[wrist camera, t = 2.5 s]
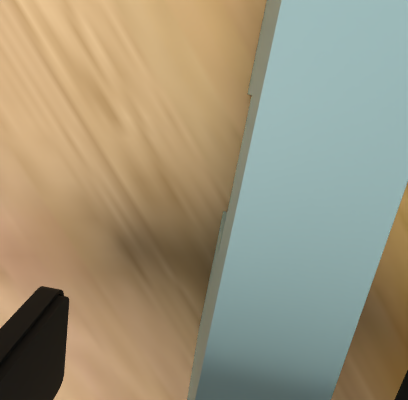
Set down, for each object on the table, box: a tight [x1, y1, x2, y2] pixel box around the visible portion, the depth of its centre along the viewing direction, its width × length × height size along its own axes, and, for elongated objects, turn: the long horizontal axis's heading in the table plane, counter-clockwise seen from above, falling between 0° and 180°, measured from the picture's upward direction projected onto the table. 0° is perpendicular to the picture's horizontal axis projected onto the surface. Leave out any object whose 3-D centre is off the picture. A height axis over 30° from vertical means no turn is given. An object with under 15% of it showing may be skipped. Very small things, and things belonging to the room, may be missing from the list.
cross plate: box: [187, 0, 408, 400], centre depth 10 cm, size 16×2×8 cm, turn 170°
